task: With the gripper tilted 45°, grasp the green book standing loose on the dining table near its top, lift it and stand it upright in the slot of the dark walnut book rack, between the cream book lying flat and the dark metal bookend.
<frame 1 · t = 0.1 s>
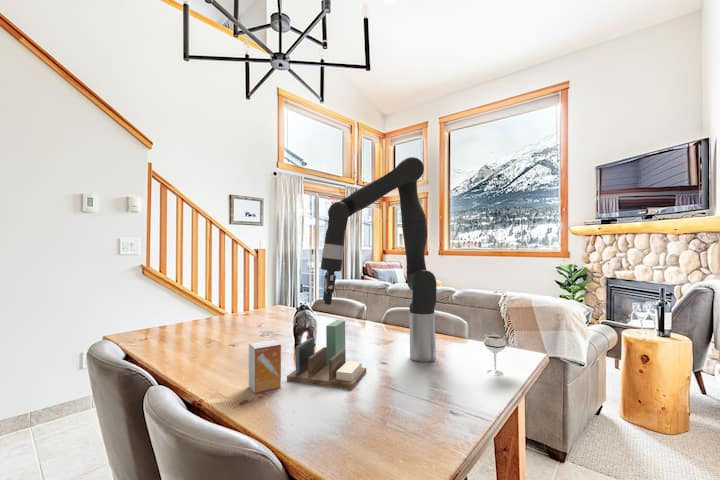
hand: (326, 302, 122), 22 cm above the table, tool pointing down, fingers open, 8 cm apart
small box: (264, 387, 103), on the table
wineglass: (495, 373, 113), on the table
book rack: (327, 376, 111), on the table
bookend: (305, 369, 114), resting on book rack
toppled book: (349, 374, 109), resting on book rack
book: (336, 361, 126), on the table
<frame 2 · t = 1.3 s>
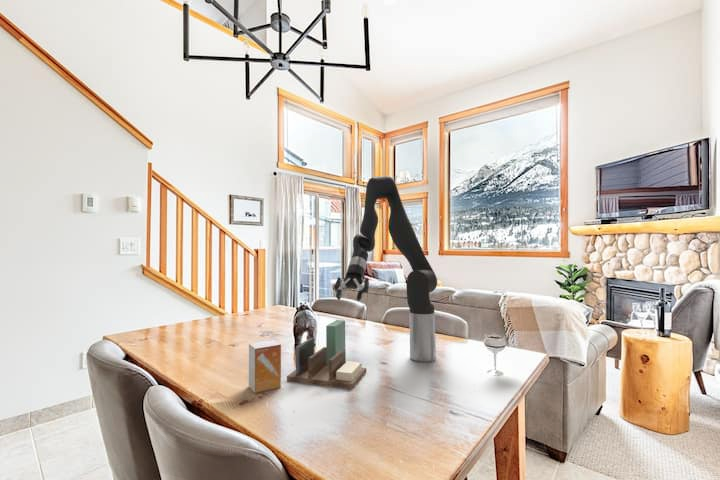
hand: (348, 299, 139), 21 cm above the table, tool tilted 45°, fingers open, 8 cm apart
nothing on the table moved.
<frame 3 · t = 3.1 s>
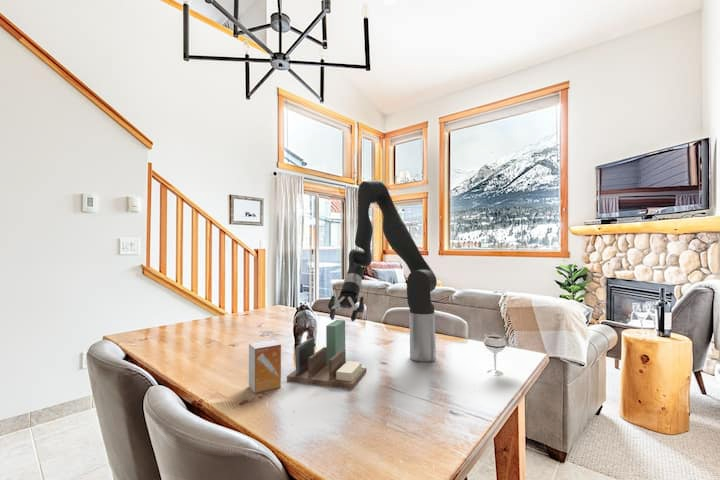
hand: (341, 319, 133), 14 cm above the table, tool tilted 45°, fingers open, 8 cm apart
nothing on the table moved.
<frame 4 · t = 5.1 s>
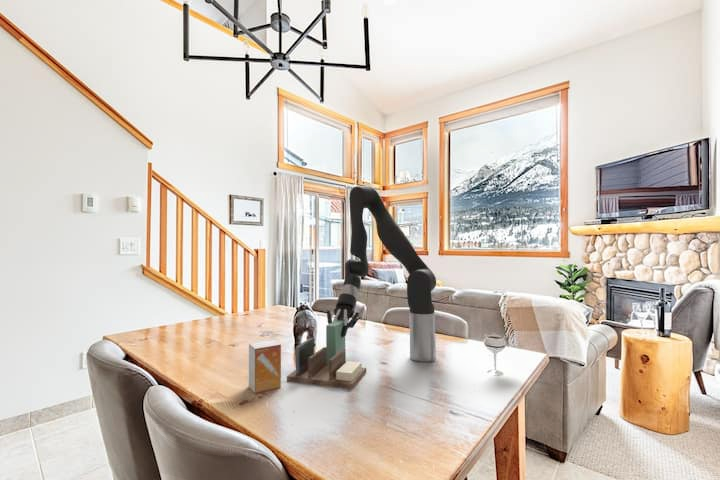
hand: (337, 335, 127), 9 cm above the table, tool tilted 45°, fingers closed on book, 3 cm apart
book: (336, 360, 126), on the table, touching gripper
everything else where it was.
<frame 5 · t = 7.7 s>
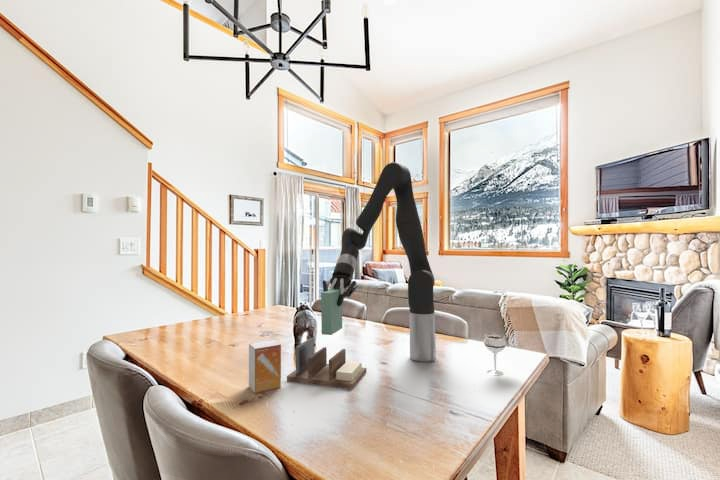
hand: (333, 304, 121), 22 cm above the table, tool tilted 45°, fingers closed on book, 3 cm apart
book: (332, 331, 120), point 13 cm above the table, touching gripper
everything else where it was.
when the fingers open (12 cm above the table, at t = 10.6 s): book drops 1 cm, resting on book rack.
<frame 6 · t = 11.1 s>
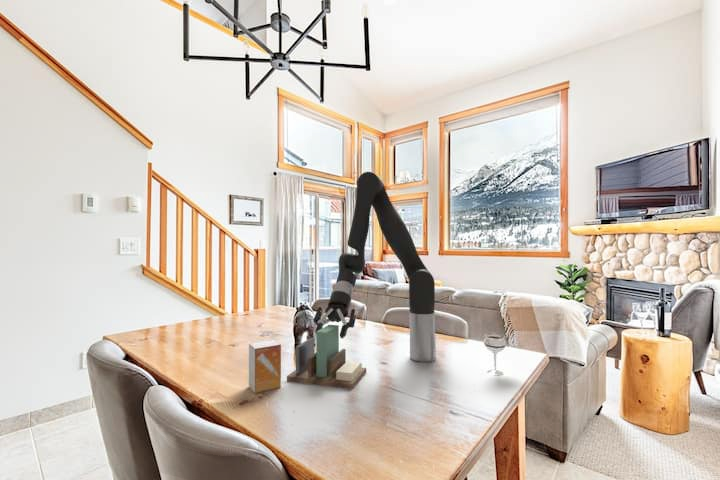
hand: (329, 336, 113), 13 cm above the table, tool tilted 45°, fingers open, 8 cm apart
book: (328, 371, 112), point 1 cm above the table, touching book rack
everything else where it was.
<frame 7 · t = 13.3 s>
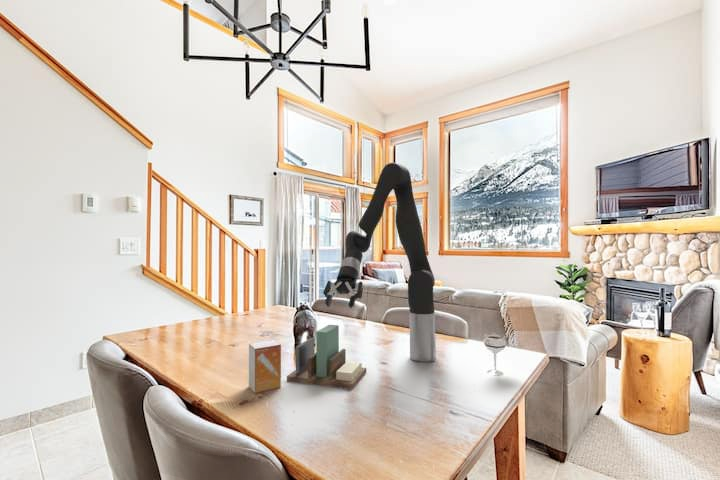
hand: (338, 306, 121), 21 cm above the table, tool tilted 45°, fingers open, 8 cm apart
nothing on the table moved.
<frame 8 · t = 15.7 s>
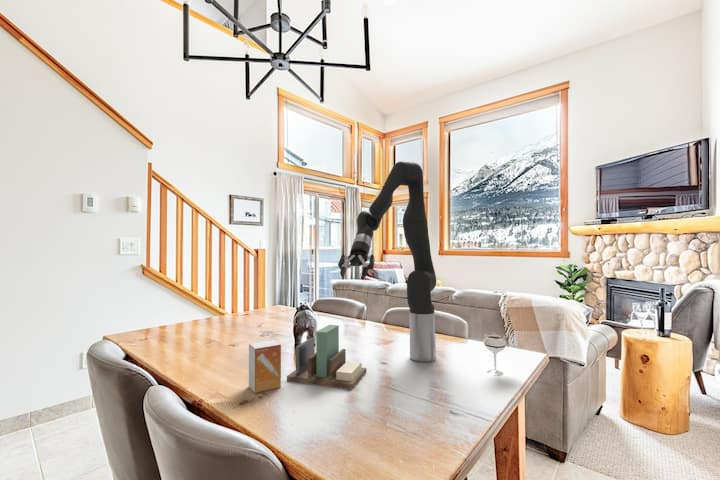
hand: (352, 276, 133), 31 cm above the table, tool tilted 45°, fingers open, 8 cm apart
nothing on the table moved.
at the end: book 0.4 cm off-centre on the book rack, point 1.5 cm above the book rack's base; book tilted 0°; the gripper is holding nothing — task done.
